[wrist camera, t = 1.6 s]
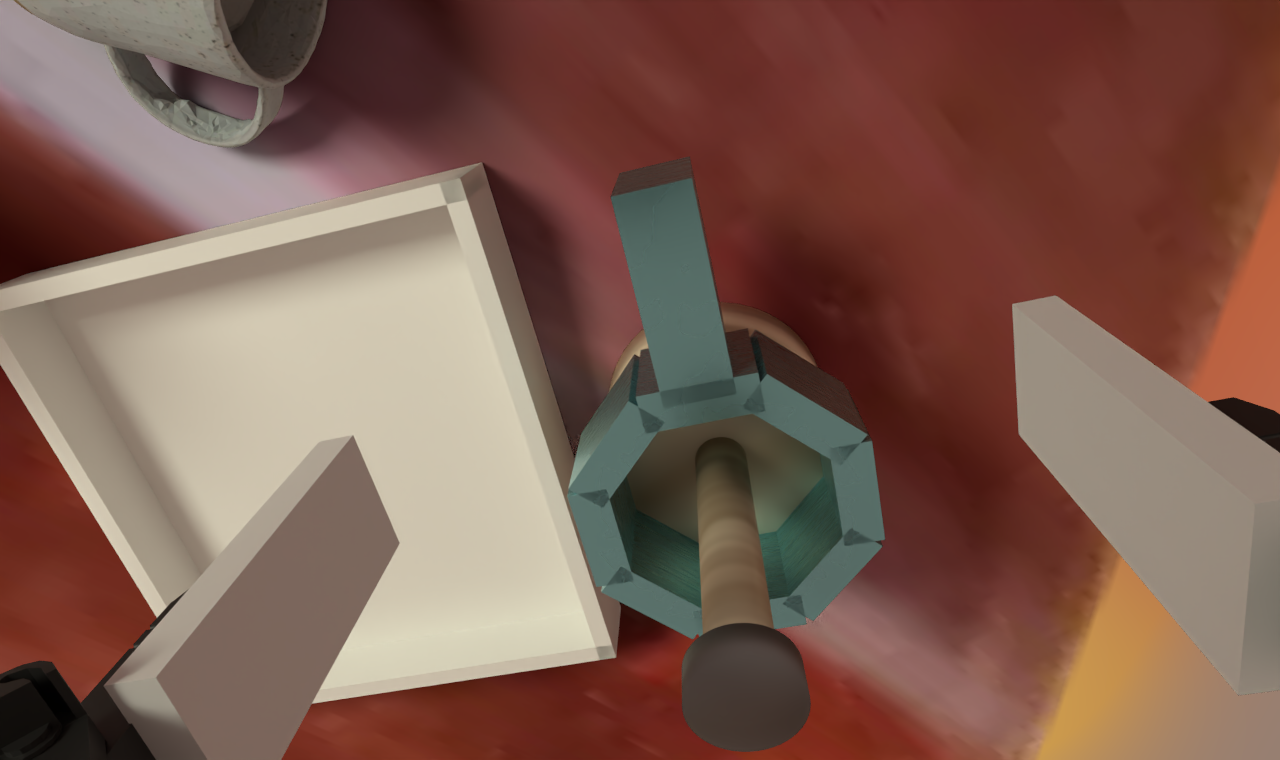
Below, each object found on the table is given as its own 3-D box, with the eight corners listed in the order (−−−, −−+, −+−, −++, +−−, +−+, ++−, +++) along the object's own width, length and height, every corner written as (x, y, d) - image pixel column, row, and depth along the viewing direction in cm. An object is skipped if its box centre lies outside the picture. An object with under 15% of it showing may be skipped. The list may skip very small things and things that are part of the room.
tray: (27, 273, 34) (-40, 299, 31) (482, 162, 31) (459, 177, 28) (252, 666, 43) (218, 717, 40) (620, 607, 40) (616, 657, 37)
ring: (869, 544, 32) (894, 610, 28) (624, 584, 33) (617, 653, 30) (810, 127, 25) (832, 145, 22) (506, 199, 27) (480, 227, 23)
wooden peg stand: (585, 327, 34) (507, 586, 18) (805, 281, 33) (924, 516, 17) (636, 509, 38) (608, 852, 22) (836, 473, 36) (956, 811, 21)
